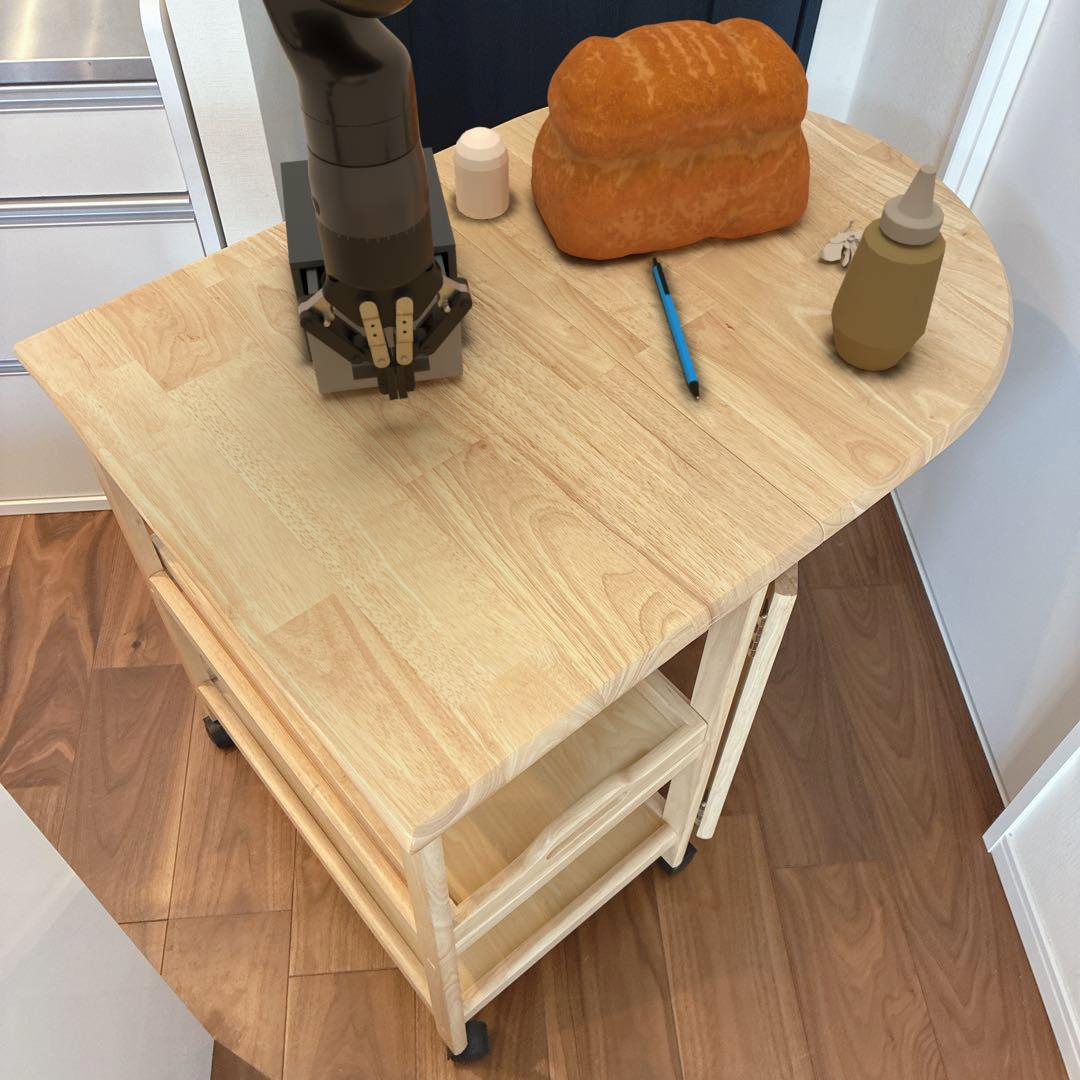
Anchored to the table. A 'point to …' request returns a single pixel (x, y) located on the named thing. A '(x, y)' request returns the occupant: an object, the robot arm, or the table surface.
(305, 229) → the cabinet
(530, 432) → the table surface
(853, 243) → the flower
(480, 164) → the white domed cylinder
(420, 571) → the table surface
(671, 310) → the pen
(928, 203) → the squeeze bottle
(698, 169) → the bread
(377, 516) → the table surface
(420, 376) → the drawer
